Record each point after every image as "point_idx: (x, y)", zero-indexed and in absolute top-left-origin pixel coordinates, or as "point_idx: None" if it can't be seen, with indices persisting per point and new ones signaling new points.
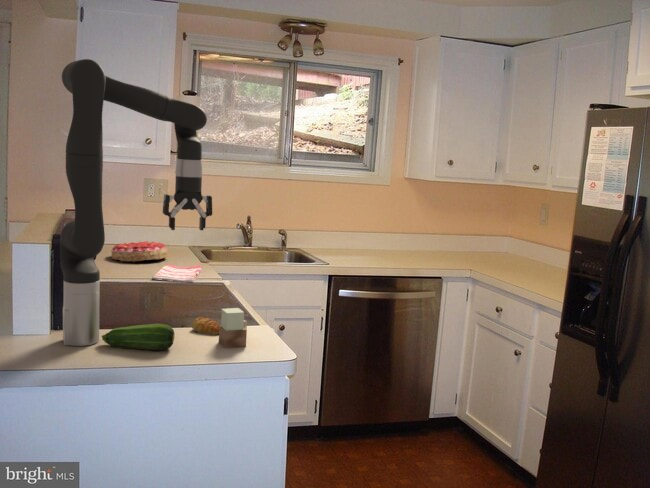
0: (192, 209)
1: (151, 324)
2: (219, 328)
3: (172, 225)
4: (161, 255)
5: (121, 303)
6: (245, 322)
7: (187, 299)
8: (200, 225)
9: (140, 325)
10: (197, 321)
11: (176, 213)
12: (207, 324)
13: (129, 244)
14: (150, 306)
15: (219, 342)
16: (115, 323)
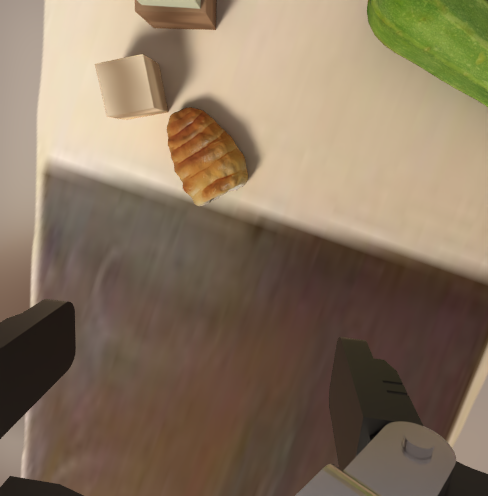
0: (31, 487)
1: (457, 9)
2: (207, 11)
3: (373, 364)
4: None
5: None
6: (101, 64)
7: (159, 471)
8: (48, 345)
9: (486, 36)
10: (230, 173)
11: (356, 464)
12: (210, 137)
13: None
14: (277, 441)
15: (215, 20)
16: (427, 317)
